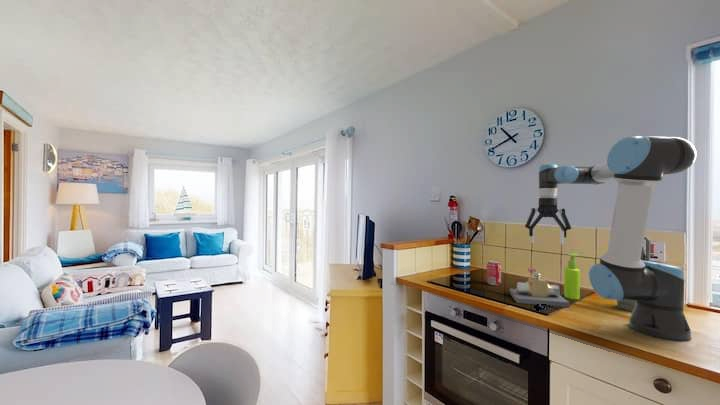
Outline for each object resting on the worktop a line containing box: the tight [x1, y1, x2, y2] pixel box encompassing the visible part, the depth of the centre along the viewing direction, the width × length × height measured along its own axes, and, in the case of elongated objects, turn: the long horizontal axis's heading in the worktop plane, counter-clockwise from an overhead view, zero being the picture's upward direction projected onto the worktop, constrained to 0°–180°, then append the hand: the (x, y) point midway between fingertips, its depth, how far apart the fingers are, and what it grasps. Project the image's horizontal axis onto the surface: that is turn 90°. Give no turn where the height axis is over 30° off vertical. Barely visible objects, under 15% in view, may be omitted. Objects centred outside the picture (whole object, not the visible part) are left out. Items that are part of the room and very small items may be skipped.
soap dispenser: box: [563, 253, 583, 300], centre depth 144 cm, size 6×7×20 cm
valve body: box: [516, 277, 561, 298], centre depth 140 cm, size 6×16×8 cm, turn 75°
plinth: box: [509, 288, 571, 308], centre depth 140 cm, size 16×20×2 cm
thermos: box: [616, 235, 652, 312], centre depth 129 cm, size 9×12×35 cm
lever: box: [527, 267, 542, 278], centre depth 145 cm, size 13×3×2 cm, turn 165°
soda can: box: [486, 260, 502, 286], centre depth 166 cm, size 7×7×12 cm
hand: (547, 243), depth 147 cm, fingers open, 11 cm apart
